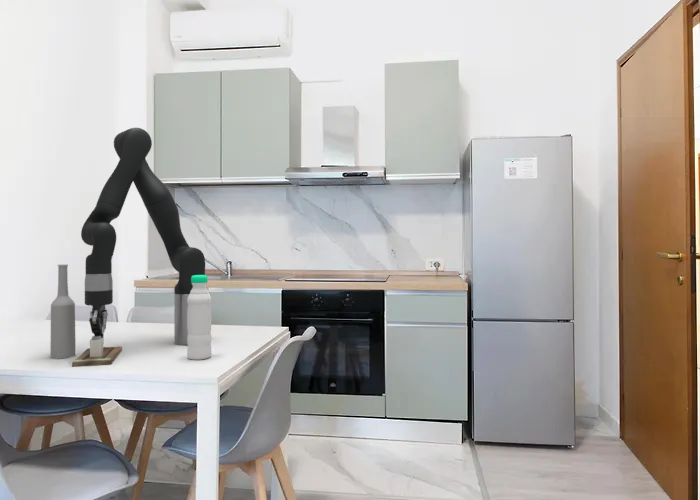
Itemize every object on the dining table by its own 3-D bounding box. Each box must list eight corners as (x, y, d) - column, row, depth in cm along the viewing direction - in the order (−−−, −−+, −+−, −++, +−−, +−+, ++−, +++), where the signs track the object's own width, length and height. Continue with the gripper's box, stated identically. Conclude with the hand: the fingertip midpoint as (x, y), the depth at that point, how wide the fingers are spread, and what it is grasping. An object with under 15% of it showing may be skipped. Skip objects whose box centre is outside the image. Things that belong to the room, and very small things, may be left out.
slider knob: (103, 354, 145) (103, 335, 144) (101, 356, 142) (101, 337, 142) (92, 355, 144) (92, 335, 144) (89, 357, 141) (89, 337, 141)
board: (121, 350, 155) (121, 345, 155) (111, 364, 138) (111, 358, 138) (87, 352, 153) (87, 347, 153) (72, 366, 135) (71, 360, 135)
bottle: (49, 355, 149) (48, 264, 148) (73, 352, 153) (73, 264, 152) (51, 359, 143) (51, 265, 143) (77, 356, 147) (76, 264, 147)
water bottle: (198, 361, 142) (198, 276, 142) (182, 358, 146) (182, 275, 145) (216, 356, 148) (216, 275, 148) (200, 353, 152) (200, 274, 151)
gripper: (107, 290, 141) (108, 349, 141) (116, 286, 153) (116, 341, 154) (79, 291, 139) (79, 351, 139) (90, 287, 151) (90, 342, 152)
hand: (99, 345), depth 146 cm, fingers closed
